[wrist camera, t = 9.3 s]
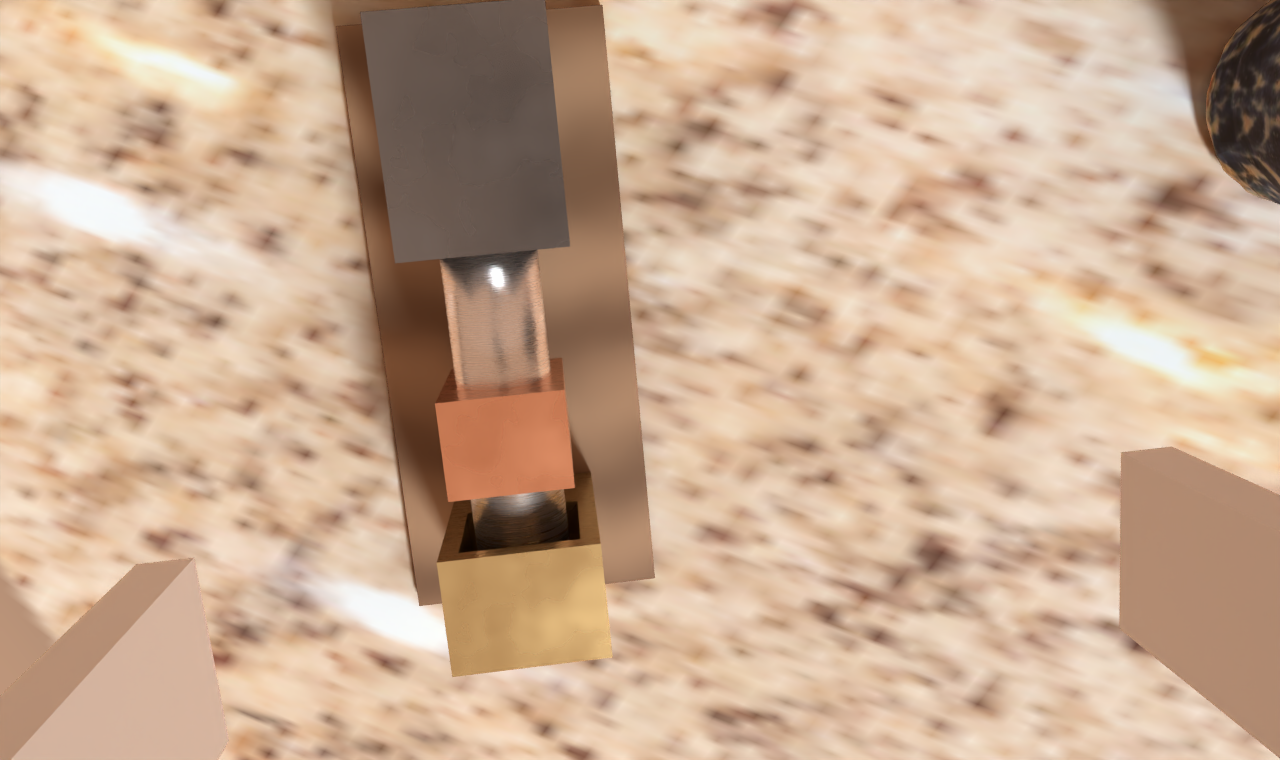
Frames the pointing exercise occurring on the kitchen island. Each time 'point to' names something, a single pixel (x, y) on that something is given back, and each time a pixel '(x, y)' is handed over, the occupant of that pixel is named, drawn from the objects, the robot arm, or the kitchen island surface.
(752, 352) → the kitchen island surface
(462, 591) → the socket
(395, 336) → the board
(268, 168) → the kitchen island surface
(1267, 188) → the jug
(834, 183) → the kitchen island surface
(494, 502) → the rod
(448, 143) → the sleeve
